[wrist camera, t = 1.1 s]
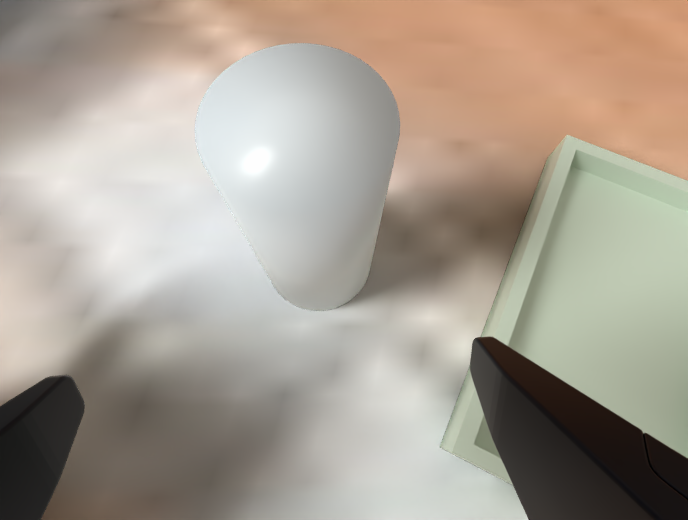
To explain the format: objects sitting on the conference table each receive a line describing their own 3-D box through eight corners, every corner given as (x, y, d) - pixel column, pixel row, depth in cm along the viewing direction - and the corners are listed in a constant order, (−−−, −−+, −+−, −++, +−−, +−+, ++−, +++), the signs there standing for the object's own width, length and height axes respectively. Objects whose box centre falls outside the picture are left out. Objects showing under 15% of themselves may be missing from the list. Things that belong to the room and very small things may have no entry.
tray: (668, 565, 20) (712, 587, 17) (439, 447, 21) (451, 452, 19) (729, 229, 26) (768, 211, 23) (547, 157, 27) (567, 134, 25)
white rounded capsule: (392, 261, 25) (442, 124, 13) (315, 333, 23) (288, 257, 11) (321, 194, 26) (305, 14, 14) (245, 258, 25) (153, 118, 13)
